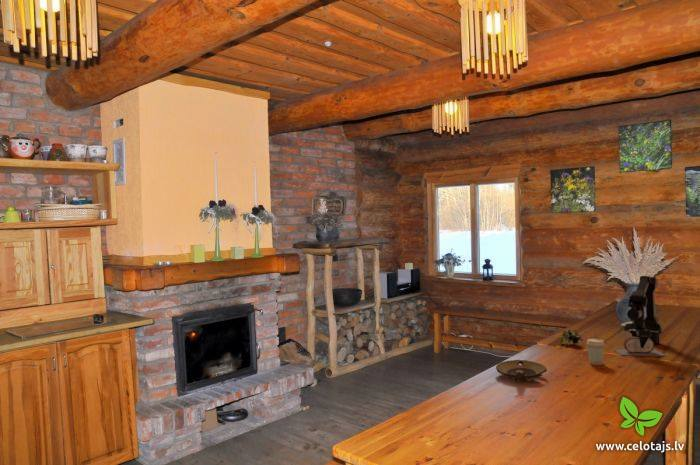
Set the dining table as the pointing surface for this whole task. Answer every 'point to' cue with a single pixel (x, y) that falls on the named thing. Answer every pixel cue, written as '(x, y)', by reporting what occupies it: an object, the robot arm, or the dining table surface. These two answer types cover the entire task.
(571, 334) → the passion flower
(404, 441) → the dining table surface
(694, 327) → the dining table surface
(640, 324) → the robot arm
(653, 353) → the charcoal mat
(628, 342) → the tin
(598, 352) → the coffee cup
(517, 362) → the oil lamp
